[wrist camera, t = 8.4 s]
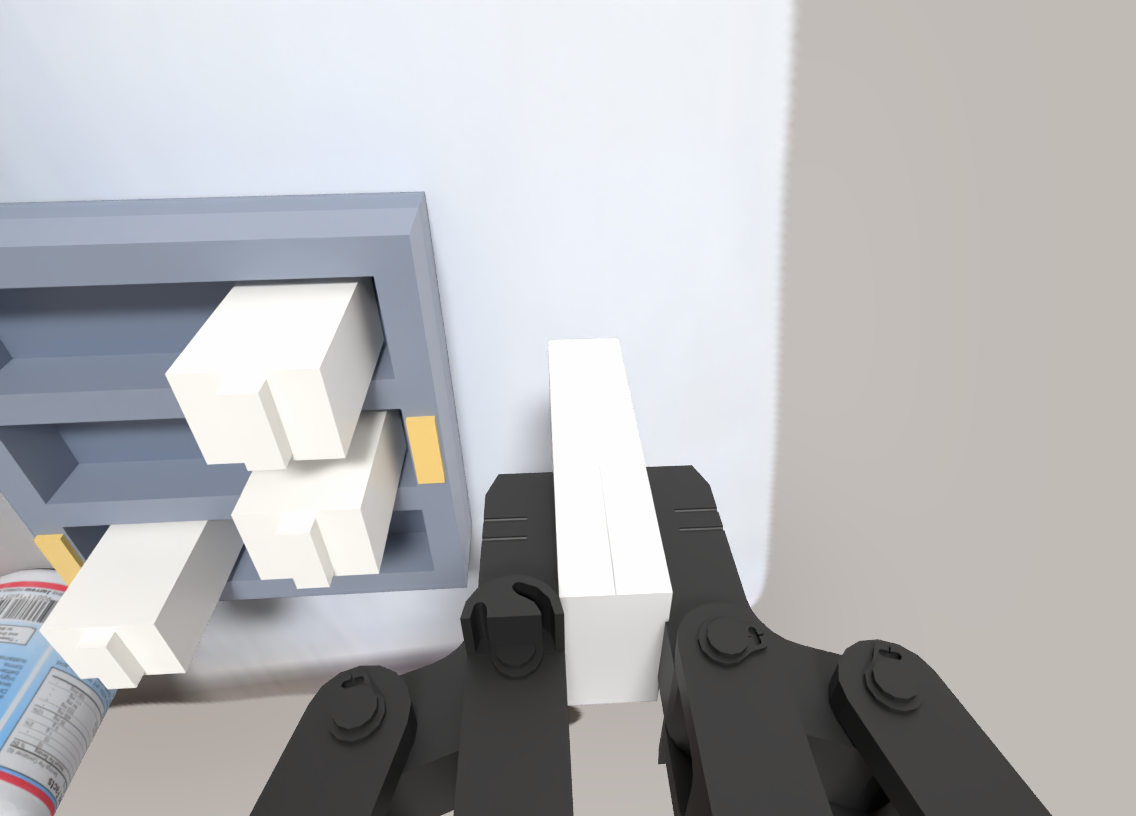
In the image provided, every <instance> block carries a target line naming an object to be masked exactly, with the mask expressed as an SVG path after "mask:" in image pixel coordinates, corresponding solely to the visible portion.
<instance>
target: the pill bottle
mask: <svg viewBox="0 0 1136 816" xmlns="http://www.w3.org/2000/svg"><path fill="white" fill-rule="evenodd" d="M67 588H68V585H67V584H66V583H65V582H64V580H63V579H62V578H61V576H60V575H59V574H58V572H57V571H56V570H50V569H31V570H22V571H17V572H13V573H10V574H7V575H4V576H2V577H0V816H54V814H55V812H56V810H57V808H58V806H59V804H60V802H61V800H62V798H63V796H64V794H65V792H66V790H67V788H68V786H69V784H70V783H71V780H72V778H73V777H74V775H75V773H76V771H77V769H78V767H79V765H80V763H81V761H82V759H83V757H84V755H85V753H86V751H87V749H88V747H89V745H90V743H91V741H92V739H93V737H94V736H95V733H96V731H97V729H98V728H99V726H100V724H101V722H102V720H103V718H104V716H105V714H106V712H107V710H108V708H109V706H110V704H111V702H112V700H113V698H114V696H115V694H116V692H117V690H118V689H107V688H106V687H105V685H104V684H103V683H102V682H101V681H100V679H99V678H89V679H80V678H79V676H78V675H77V674H76V673H75V672H74V671H73V670H72V668H71V667H70V666H69V665H68V664H67V663H66V661H65V660H64V659H63V658H62V657H61V656H60V654H59V653H58V652H57V651H56V650H55V649H54V648H53V646H52V645H51V644H50V643H49V642H48V641H47V639H46V638H45V637H44V636H43V635H42V634H41V632H40V631H39V630H40V628H41V627H42V625H43V624H44V622H45V621H46V619H47V618H48V616H49V615H50V613H51V612H52V611H53V609H54V608H55V606H56V605H57V603H58V602H59V600H60V599H61V597H62V596H63V594H64V593H65V591H66V590H67Z"/></svg>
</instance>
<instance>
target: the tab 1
mask: <svg viewBox="0 0 1136 816" xmlns="http://www.w3.org/2000/svg"><path fill="white" fill-rule="evenodd" d="M243 544H244V542H243V540H242V538H241V536H240V533H239V531H238V529H237V527H236V525H235V523H234V521H233V519H220V520H200V521H179V522H159V523H139V524H118V525H110V527H109V528H108V530H107V531H106V533H105V534H104V535H103V537H102V538H101V540H100V541H99V543H98V544H97V546H96V547H95V549H94V550H93V552H92V553H91V555H90V556H89V558H88V559H87V560H86V562H85V563H84V565H83V566H82V568H81V569H80V571H79V572H78V574H77V575H76V577H75V578H74V580H73V581H72V583H71V584H70V586H69V587H68V588H67V590H66V591H65V593H64V594H63V596H62V597H61V599H60V600H59V602H58V603H57V605H56V606H55V608H54V609H53V611H52V612H51V613H50V615H49V616H48V618H47V619H46V621H45V622H44V624H43V625H42V627H41V628H40V630H39V631H40V632H41V634H42V635H43V636H44V637H45V638H46V639H47V641H48V642H49V643H50V644H51V645H52V646H53V648H54V649H55V650H56V651H57V652H58V653H59V654H60V656H61V657H62V658H63V659H64V660H65V661H66V663H67V664H68V665H69V666H70V667H71V668H72V670H73V671H74V672H75V673H76V674H77V675H78V676H79V678H80V679H89V678H99V679H100V681H101V682H102V683H103V684H104V685H105V687H106V688H107V689H123V688H137V686H138V684H139V682H140V680H141V678H142V676H143V675H157V674H174V673H186V672H187V670H188V668H189V666H190V663H191V661H192V659H193V657H194V654H195V652H196V650H197V648H198V645H199V643H200V641H201V638H202V636H203V634H204V632H205V629H206V627H207V625H208V623H209V620H210V618H211V616H212V614H213V611H214V609H215V607H216V605H217V602H218V600H219V598H220V596H221V593H222V591H223V589H224V587H225V584H226V582H227V580H228V578H229V575H230V573H231V571H232V569H233V566H234V564H235V562H236V560H237V557H238V555H239V553H240V551H241V548H242V546H243Z"/></svg>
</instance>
